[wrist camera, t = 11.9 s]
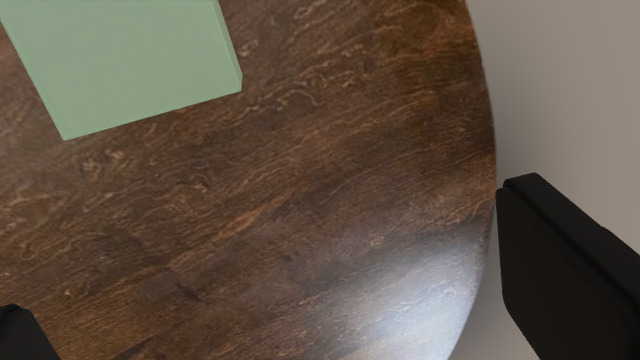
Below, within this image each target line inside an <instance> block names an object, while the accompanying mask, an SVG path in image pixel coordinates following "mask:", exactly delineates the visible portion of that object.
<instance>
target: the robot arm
mask: <svg viewBox="0 0 640 360" xmlns="http://www.w3.org/2000/svg"><path fill="white" fill-rule="evenodd" d="M496 210H497V223H498V237H499V238H498V239H499V253H500V266H501V279H502V280H501V281H502V295H503V300H504V303H505V306H506V309H507V311H508V312H509V314H510V316H511V317H512V319H513V320H514V322H515V323H516V324H517V326H518V327H519V329H520V331H521V332H522V333H523V335H524V336H525V338H526V339H527V341H528V342H529V344H530V345H531V347H532V348H533V349H534V351H535V353H536V354H537V356H538V357H539V359H540V360H640V255H639V254H638V253H636V252H635V251H634V250H633V249H632V248H630V247H629V246H628V245H627V244H625V243H624V242H623V241H622V240H620V239H619V238H618V237H617V236H615V235H614V234H613V233H612V232H610V231H609V230H608V229H606V228H604V227H602V226H600V225H599V224H598V223H597V222H595V221H594V220H593V219H592V218H591V217H589V216H588V215H587V214H586V213H585V212H583V211H582V210H581V209H580V208H579V207H577V206H576V205H575V204H574V203H573V202H571V201H570V200H569V199H568V198H566V197H565V196H564V195H563V194H562V193H560V192H559V191H558V190H557V189H556V188H554V187H553V186H552V185H551V184H550V183H548V182H547V181H546V180H545V179H543V178H542V177H541V176H540V175H539V174H537V173H530V174H526V175H521V176H517V177H513V178H510V179H506V180H505V181H504V184H503V188H500V189H497V190H496ZM0 360H61V359H60V358H59V356H58V355H57V353H56V351H55V350H54V348H53V347H52V345H51V343H50V342H49V340H48V339H47V337H46V335H45V334H44V332H43V330H42V329H41V327H40V326H39V324H38V322H37V321H36V319H35V318H34V316H33V314H32V313H31V312H30V311H29V310H27V309H22V308H21V307H20V306H18V305H16V304H9V305H5V306H1V307H0Z"/></svg>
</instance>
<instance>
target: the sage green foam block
mask: <svg viewBox="0 0 640 360" xmlns="http://www.w3.org/2000/svg"><path fill="white" fill-rule="evenodd" d="M0 21H1V23H2V25H3V27H4V29H5V30H6V32H7V34H8V36H9V38H10V40H11V42H12V44H13V46H14V48H15V50H16V51H17V53H18V55H19V57H20V59H21V61H22V63H23V65H24V67H25V69H26V70H27V72H28V74H29V76H30V78H31V80H32V82H33V84H34V86H35V88H36V90H37V91H38V93H39V95H40V97H41V99H42V101H43V103H44V105H45V107H46V109H47V110H48V112H49V114H50V116H51V118H52V120H53V122H54V124H55V126H56V128H57V129H58V131H59V133H60V135H61V137H62V139H63V140H64V141H66V140H70V139H74V138H77V137H81V136H84V135H88V134H91V133H95V132H98V131H102V130H105V129H109V128H112V127H116V126H119V125H123V124H126V123H130V122H133V121H137V120H140V119H144V118H148V117H151V116H155V115H158V114H162V113H165V112H169V111H172V110H176V109H179V108H183V107H186V106H190V105H193V104H197V103H200V102H204V101H207V100H211V99H214V98H218V97H221V96H225V95H229V94H232V93H236V92H239V91H241V86H242V72H241V69H240V66H239V63H238V60H237V57H236V54H235V51H234V48H233V45H232V42H231V39H230V36H229V33H228V30H227V27H226V24H225V21H224V18H223V15H222V12H221V9H220V6H219V3H218V0H0Z"/></svg>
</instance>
